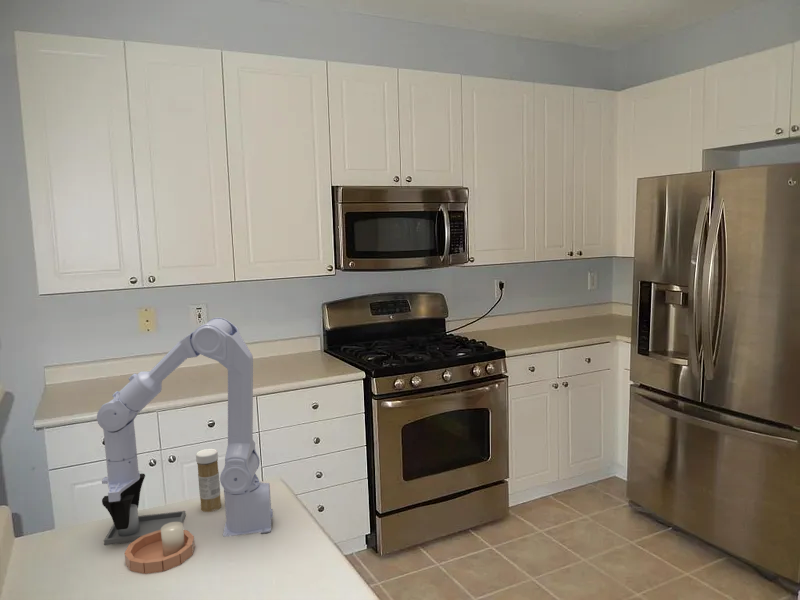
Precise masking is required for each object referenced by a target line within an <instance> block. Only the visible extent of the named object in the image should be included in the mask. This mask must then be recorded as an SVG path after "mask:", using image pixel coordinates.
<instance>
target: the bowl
mask: <svg viewBox="0 0 800 600" xmlns="http://www.w3.org/2000/svg"><path fill="white" fill-rule="evenodd" d="M183 530H184V541H185V546H184V547H183V548H182V549H181V550H179V551H178V552H177V553H174V554H172V555H169V556H166V557H165V556H164V555H163V548H162V537H161V530H157V531H154V532H152V533H149V534H146V535H143V536H141V537H139V538H138V539H136V540H135V541H133V542H129V544H128V546H127V547H126V550H125V551H124V560H125V561H124V562H125V565H126V567H127V568H128V570H129V571H131V572H132V573H133V572H134V573H139V574H143V575H144V574H145V575H147V574H154V573H155V574H156V573H162V572H166V571H168V570H171V569H173V568H176V567H178V566H180V565H183V564H184V563H185V562H186V561H187V560H188V559H189V558H191V557H192V556H193V554H194V551H195V548H196V545H195V536H194V535H193V534H192V533H191V532H190V531H189V530H188V529H187V530H186V529H183Z"/></svg>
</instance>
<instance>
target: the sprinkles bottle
mask: <svg viewBox="0 0 800 600" xmlns="http://www.w3.org/2000/svg"><path fill="white" fill-rule="evenodd" d="M218 452H219V451H218V450H217V449H215V448H205V449H201V450H199V451H197V452H196V454H195V460H196V464H197V471H198V472H197V473H198V474H197V478H198V488H199V489H198V490H199V497H200V498H199V500H200V511H201V512H204V513H209V512H215V511H217V510H219V509H221V508H222V505H223V504H222V502H221V501H222V500H221V482H220V472H219V465H218V464H219V463H218V461H219V460H218V459H219V454H218Z"/></svg>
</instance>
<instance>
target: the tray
mask: <svg viewBox="0 0 800 600" xmlns="http://www.w3.org/2000/svg"><path fill="white" fill-rule="evenodd" d="M186 515H187V513H186V510H179V511H178V510H177V511H170V512H164V513H152V514H146V515H138V518H139V531H138V532H137V533H136V534H133V535H131V536H119V535H118V530H117V529H116V527H115V525H114V523H113V524H112V526H111V527H110V529H109V531H108V532H107V535H106V536H105V538H104V539H103V545H104V546H109V545H117V544H126V543H132V542H133V541H135V540H136V539H138V538H139V537H141V536H143V535H146V534H149V533H152V532H154V531H157V530H161V527H162V526H164V525H165V524H167V523H170V522H181V523H183V524H184V522H185V518H186Z"/></svg>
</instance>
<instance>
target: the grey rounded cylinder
mask: <svg viewBox="0 0 800 600" xmlns="http://www.w3.org/2000/svg"><path fill="white" fill-rule="evenodd" d="M138 511H139V507H138V508H137V505H135V504H131V507H130V517H129V525H128V528H127V529H120V530H118V535H119V536H131V535H133V534H136V533H137V532H138V531H139V518H138V516H139V512H138Z"/></svg>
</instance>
